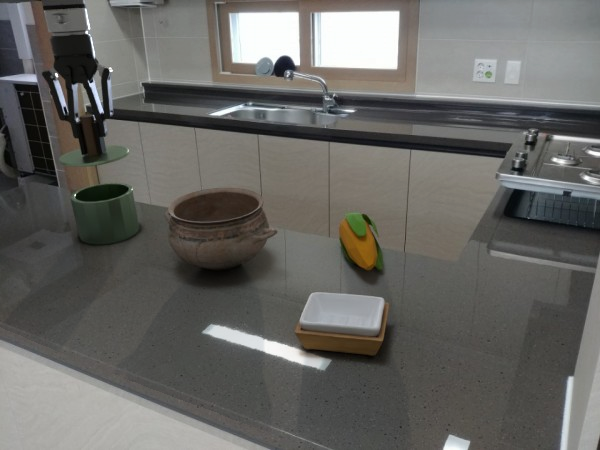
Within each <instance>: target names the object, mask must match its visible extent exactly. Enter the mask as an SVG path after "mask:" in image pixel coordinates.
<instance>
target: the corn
mask: <svg viewBox="0 0 600 450" xmlns="http://www.w3.org/2000/svg"><path fill="white" fill-rule="evenodd" d="M344 217H345V218H344V219H343V220H341V222H340V224H339V227H338V236H339V237H338V238H339V244H340V247H341V250H342V251H343V254H344V256H345V257H346V259H347V260H348V262H350V263H351V264H352V265H357V266H358V267H360V268H362V269H364V270H366V271H370V270H373V268H374V267H375V268H376V269H377V270H382V269H383V265H384V256H383V251H382V249H381V246H380V244H379V242H378V240H377V238H379V237H380V236H379V233H378V228H377V225H376V223H375V221H374V220H373V219H372V218H371V217H370V216H369V215H367V214H365V213H361V212H348V213H346V214H344ZM371 227H372V229H371ZM372 230H373V231H374V232H373V231H372ZM374 233H375V234H376V235H377V238H376V236H375V234H374Z"/></svg>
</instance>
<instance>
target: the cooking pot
mask: <svg viewBox="0 0 600 450" xmlns="http://www.w3.org/2000/svg"><path fill="white" fill-rule="evenodd" d="M264 202H265V201H264V198H263V196H262V195H261V194H260V193H259V192H257V191H254V190H251V189H246V188H239V187H214V188H207V189H201V190H196V191H192V192H190V193H186V194H184V195H182V196H179V197H178V198H176V199H174V200H173V201H172V202H171V203H170V204H169V205H168V207H167V211H166V212H165V213H164V219H165V221H166V222H167V224H168V228H167V238H168V244H169V246H170V247H171V249H172V251H173V252H174V254H175V255H177V257H178V258H179V259H180V260H183V261H184V262H185V263H187V264H190V265H193V266H196V267H199V268H203V269H208V270H212V271H218V272H219V271H220V272H221V271H228V270H231V269H234V268H236V267H237V266H239V265H242V264H244V263H246V262H247V261H250V260H251V259H253V258H254V257H255V256H257V255H258V254H259V253H260V252H261V251H262V250H263V249H264V247H265V246H266V244H267V241H268V240H269V239H271V238H272V237H274V236H275V235H277V234H278V230H277V229H276V228H270V223H269V222H270V221H269V218H268V216H267V213H266V211H265V209H264V207H263V205H264Z"/></svg>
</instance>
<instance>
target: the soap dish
mask: <svg viewBox="0 0 600 450" xmlns="http://www.w3.org/2000/svg"><path fill="white" fill-rule="evenodd" d="M389 308H390V302H386V301H385V299H384V298H383V297H380V296H372V295H363V294H349V293H336V292H335V293H334V292H321V291H319V292H317V291H316V292H312V293H310V295H309V296H308V298H307V301H306V303H305V305H304V307H303V310H302V311H301V314H300V315H301V316H299V317H300V318H299V320H298V323H297V325H296V328H295V330H294V334H295V336H296V337H297V339H298V341H299V342H300V344H301V345H302V346H303V348H304V349H306V350H307V351H310V350H318V351H326V352H327V351H328V352H335V353H336V352H338V353H346V354H347V353H348V354H355V355H356V354H357V355H365V356H369V357H373V356H376V355H377V354H378V352H379V349H380V348H381V346H382V344H383V341H384V338H385V332H386V326H387V320H388V313H389Z"/></svg>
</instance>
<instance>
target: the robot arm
mask: <svg viewBox="0 0 600 450" xmlns="http://www.w3.org/2000/svg"><path fill="white" fill-rule="evenodd" d="M85 1H86V0H0V4H22V3H31V2H32V3H33V2H41V5H42V10H43V14H44V18H45V22H46V28H47V32H48V33H49V34H52V35H51V36H50V37H49V42H50V47H51V51H52V55H53V58H54V59H53V60H54V61H53V64H52V65H53V66H52V67H50V68H49V69H47V70H43V71H42V72H41V76H42V77H43V79H44V80H45V81H46V83H47V84H48V88H49V91H50V93H51V97H52V101H53V104H54V106H55V110H56V112H57V115H58V118H59V120H60V121H63V122H64V121H65V122H68V123H69V124H70V127H71V132H72V136H73V138H74V139H77V140H78V144H79V149H81V153H82V155H86V154H87V151H86V146H85V141H84V136H83V131H82V127H81V122H80V113H79V112H80V111H79V110H80V109H79V96H78V95H79V93H78V87H79V84H80V85H81V84H82V86H83V89H84V90H85V93H86V96H87V98H88V102H89V104H90V106H91V110H92V112H93V115H94V118H95V122H93V127H94V132H95V137H96V142H97V147H98V152H99V154H103V153H104V152H105V151H106V146H105V145H106V142H105V137H107V136H108V129H107V128H108V127H107V121H106V120H107V119H110V118H111V117H112V116H113V115H114V101H113V91H112V75H113V73H114V69H113V67H112V66H105V65H103V64H100V62H99V60H98V59H97V57H96V53H95V47H94V41H93V37H92V35H91V34H90V33H88V32H89V31H90V30H91V27H90V22H89V17H88V11H87V6H86V2H85ZM97 72H98V75H99V77H100V87H101V97H102V102H101V99H100V97H99V94H98V93H99V92H98V91H97V88H96V81H95V75H96V73H97ZM58 75H60V77H61V78H62V79H63V80H64V82H65V83H64V84H65V85H64V86H65V89H66V98H67V99H66V100H67V101H66V100H65V96H64V93H63V90H62V87H61V84H60V81H59V80H58V78H59V76H58Z"/></svg>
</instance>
